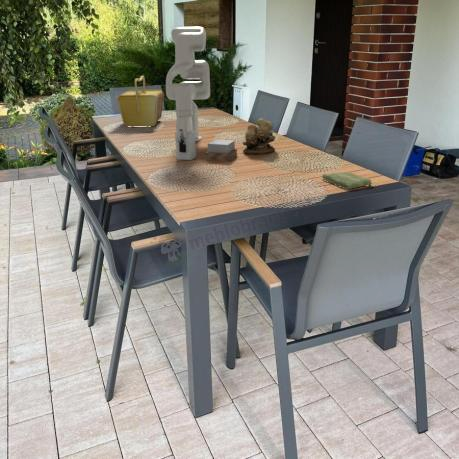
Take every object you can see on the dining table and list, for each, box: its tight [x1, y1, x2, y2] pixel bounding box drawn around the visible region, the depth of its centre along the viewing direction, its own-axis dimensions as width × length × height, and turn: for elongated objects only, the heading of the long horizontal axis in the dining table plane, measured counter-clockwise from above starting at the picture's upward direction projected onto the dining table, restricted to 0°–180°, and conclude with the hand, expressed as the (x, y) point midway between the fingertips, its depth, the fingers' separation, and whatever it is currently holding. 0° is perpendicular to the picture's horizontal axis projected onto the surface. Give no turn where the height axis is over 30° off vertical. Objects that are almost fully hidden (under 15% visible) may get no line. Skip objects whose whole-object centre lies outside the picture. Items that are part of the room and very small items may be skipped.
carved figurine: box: [242, 117, 276, 156], centre depth 237 cm, size 18×12×17 cm, turn 117°
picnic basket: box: [116, 75, 165, 127], centre depth 310 cm, size 29×26×30 cm
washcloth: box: [321, 171, 373, 190], centre depth 190 cm, size 13×18×3 cm
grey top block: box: [207, 138, 236, 153], centre depth 228 cm, size 10×10×4 cm
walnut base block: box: [204, 148, 238, 162], centre depth 229 cm, size 12×12×4 cm
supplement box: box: [175, 131, 197, 161], centre depth 227 cm, size 7×7×13 cm
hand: (186, 150), depth 228 cm, fingers closed on supplement box, 7 cm apart
